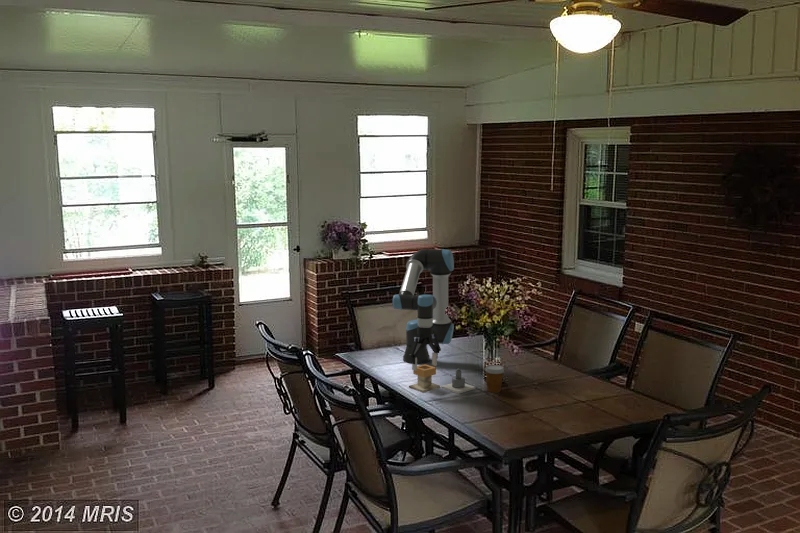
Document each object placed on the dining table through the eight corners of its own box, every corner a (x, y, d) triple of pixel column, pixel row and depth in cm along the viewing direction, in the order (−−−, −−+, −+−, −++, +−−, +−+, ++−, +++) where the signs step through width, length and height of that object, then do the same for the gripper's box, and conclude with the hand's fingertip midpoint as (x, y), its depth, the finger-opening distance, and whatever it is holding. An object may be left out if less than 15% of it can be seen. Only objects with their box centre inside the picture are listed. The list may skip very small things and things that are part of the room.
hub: (458, 383, 376) (458, 364, 375) (475, 388, 367) (475, 369, 366) (441, 388, 369) (441, 368, 367) (458, 393, 360) (458, 374, 358)
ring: (425, 370, 374) (425, 364, 373) (435, 374, 368) (436, 367, 367) (413, 373, 368) (413, 367, 368) (424, 377, 362) (424, 370, 362)
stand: (426, 382, 377) (426, 364, 375) (440, 387, 369) (440, 368, 368) (408, 387, 369) (409, 368, 367) (422, 392, 361) (422, 372, 360)
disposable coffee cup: (503, 394, 359) (503, 370, 357) (483, 393, 361) (484, 369, 359) (504, 388, 368) (505, 365, 367) (485, 387, 370) (485, 364, 368)
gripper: (437, 321, 375) (437, 362, 378) (401, 328, 359) (400, 370, 362) (448, 323, 370) (447, 365, 373) (411, 330, 353) (411, 373, 356)
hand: (424, 367), depth 367 cm, fingers open, 13 cm apart
